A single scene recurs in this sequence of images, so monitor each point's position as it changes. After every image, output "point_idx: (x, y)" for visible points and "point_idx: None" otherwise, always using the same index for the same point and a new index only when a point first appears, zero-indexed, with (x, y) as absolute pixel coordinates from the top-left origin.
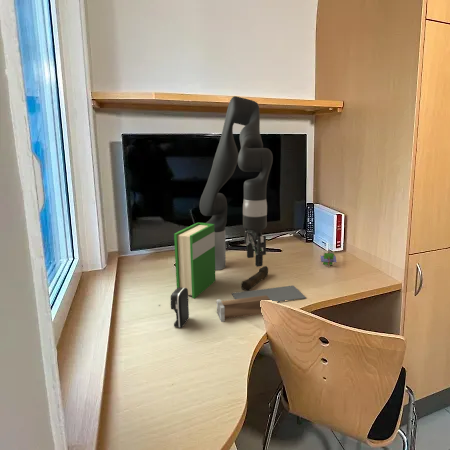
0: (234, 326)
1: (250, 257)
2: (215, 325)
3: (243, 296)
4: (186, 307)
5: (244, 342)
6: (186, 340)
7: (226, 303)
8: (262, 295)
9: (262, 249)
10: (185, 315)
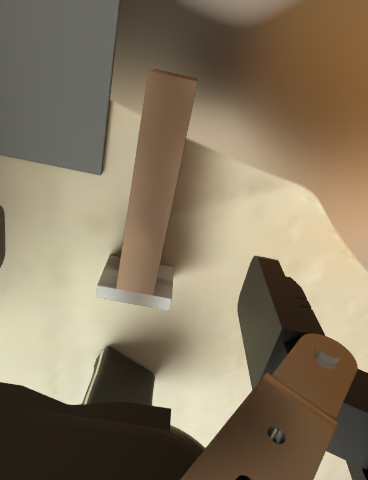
0: (220, 254)
1: (2, 236)
2: (184, 299)
3: (11, 113)
4: (116, 393)
5: (318, 270)
6: (217, 381)
7: (144, 280)
8: (28, 9)
9: (337, 407)
10: (129, 380)
